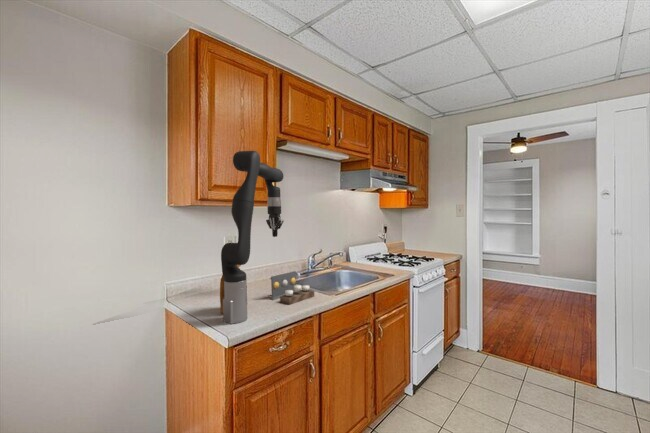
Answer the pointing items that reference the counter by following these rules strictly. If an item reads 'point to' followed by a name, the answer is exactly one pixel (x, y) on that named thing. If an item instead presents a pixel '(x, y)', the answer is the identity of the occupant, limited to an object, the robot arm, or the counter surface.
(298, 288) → the button mid
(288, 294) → the button near
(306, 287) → the button far
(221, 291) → the coffee package
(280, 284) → the pattern card
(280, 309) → the counter surface
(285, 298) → the button board
